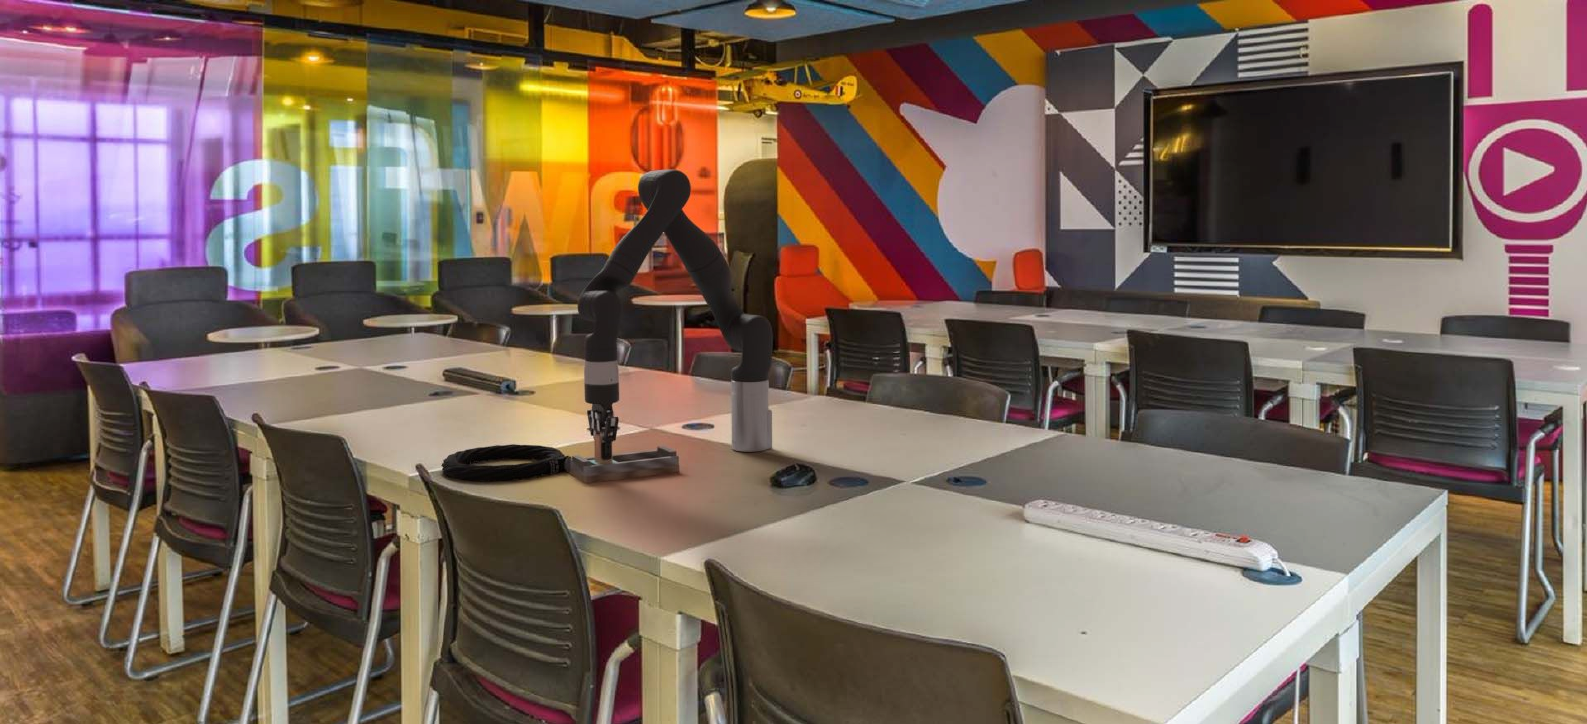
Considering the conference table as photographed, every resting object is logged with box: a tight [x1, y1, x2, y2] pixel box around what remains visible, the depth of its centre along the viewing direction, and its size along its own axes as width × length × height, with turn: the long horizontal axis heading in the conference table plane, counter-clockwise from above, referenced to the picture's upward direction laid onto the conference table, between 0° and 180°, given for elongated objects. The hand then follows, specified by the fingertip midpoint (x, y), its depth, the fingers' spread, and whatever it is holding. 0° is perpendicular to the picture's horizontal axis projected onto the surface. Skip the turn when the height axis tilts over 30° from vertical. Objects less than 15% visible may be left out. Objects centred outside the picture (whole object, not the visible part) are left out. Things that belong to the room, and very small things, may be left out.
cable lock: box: [440, 443, 572, 482], centre depth 262 cm, size 28×4×30 cm
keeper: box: [589, 434, 617, 466], centre depth 254 cm, size 5×6×8 cm
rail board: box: [569, 445, 680, 484], centre depth 257 cm, size 22×10×4 cm, turn 120°
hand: (603, 457), depth 254 cm, fingers closed on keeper, 3 cm apart
